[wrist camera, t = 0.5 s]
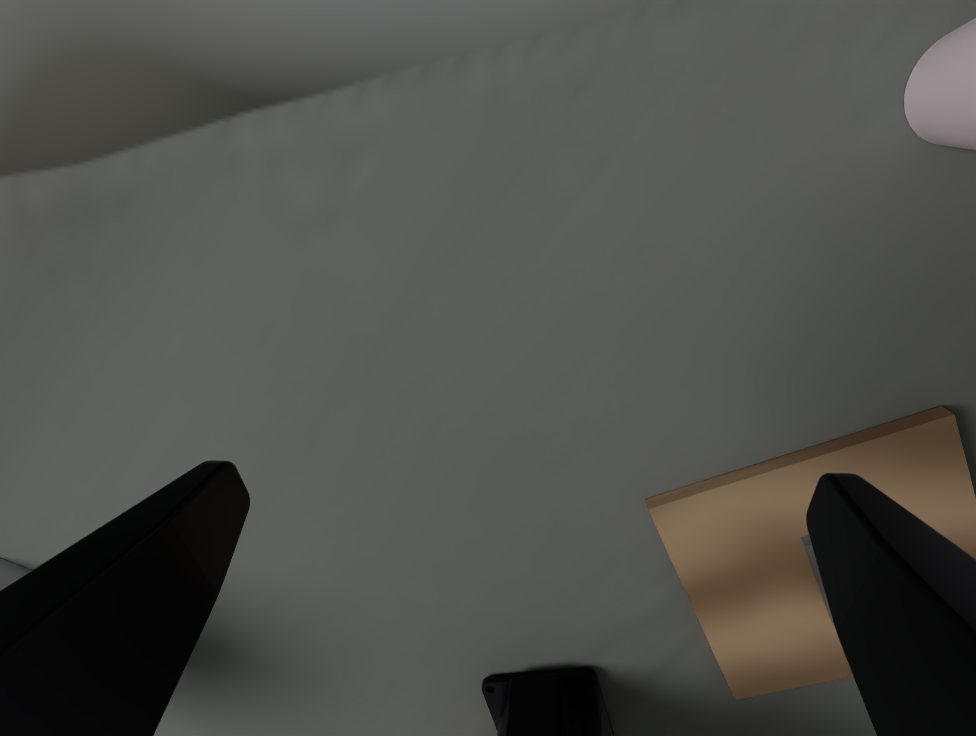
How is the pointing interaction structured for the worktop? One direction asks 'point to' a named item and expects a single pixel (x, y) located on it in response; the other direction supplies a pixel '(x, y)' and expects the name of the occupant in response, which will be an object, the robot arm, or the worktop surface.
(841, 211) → the worktop surface
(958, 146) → the smoothie
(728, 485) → the lid
